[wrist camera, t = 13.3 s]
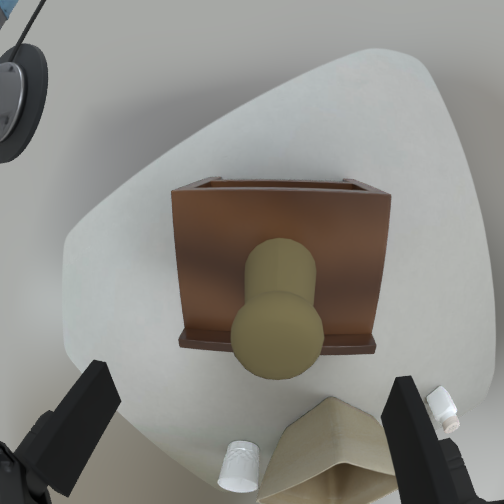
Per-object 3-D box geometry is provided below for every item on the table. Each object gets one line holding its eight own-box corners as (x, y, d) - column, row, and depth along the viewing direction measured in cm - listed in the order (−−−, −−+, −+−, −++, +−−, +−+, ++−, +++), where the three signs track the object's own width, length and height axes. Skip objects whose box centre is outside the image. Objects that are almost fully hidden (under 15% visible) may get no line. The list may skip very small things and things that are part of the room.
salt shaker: (440, 383, 43) (457, 418, 34) (448, 390, 44) (464, 423, 35) (424, 396, 45) (439, 431, 36) (432, 403, 45) (447, 437, 36)
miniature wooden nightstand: (209, 177, 36) (161, 194, 22) (354, 179, 34) (400, 198, 20) (214, 280, 41) (179, 347, 26) (346, 283, 39) (374, 354, 24)
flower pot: (397, 411, 46) (417, 479, 30) (330, 456, 52) (334, 519, 37) (330, 375, 44) (342, 460, 28) (261, 429, 50) (252, 501, 35)
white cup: (218, 445, 54) (209, 481, 44) (243, 434, 52) (236, 473, 42) (244, 460, 55) (238, 495, 46) (269, 450, 53) (266, 487, 43)
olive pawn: (304, 311, 26) (311, 403, 15) (237, 294, 26) (209, 380, 16) (326, 248, 24) (353, 320, 13) (253, 229, 24) (230, 290, 14)
